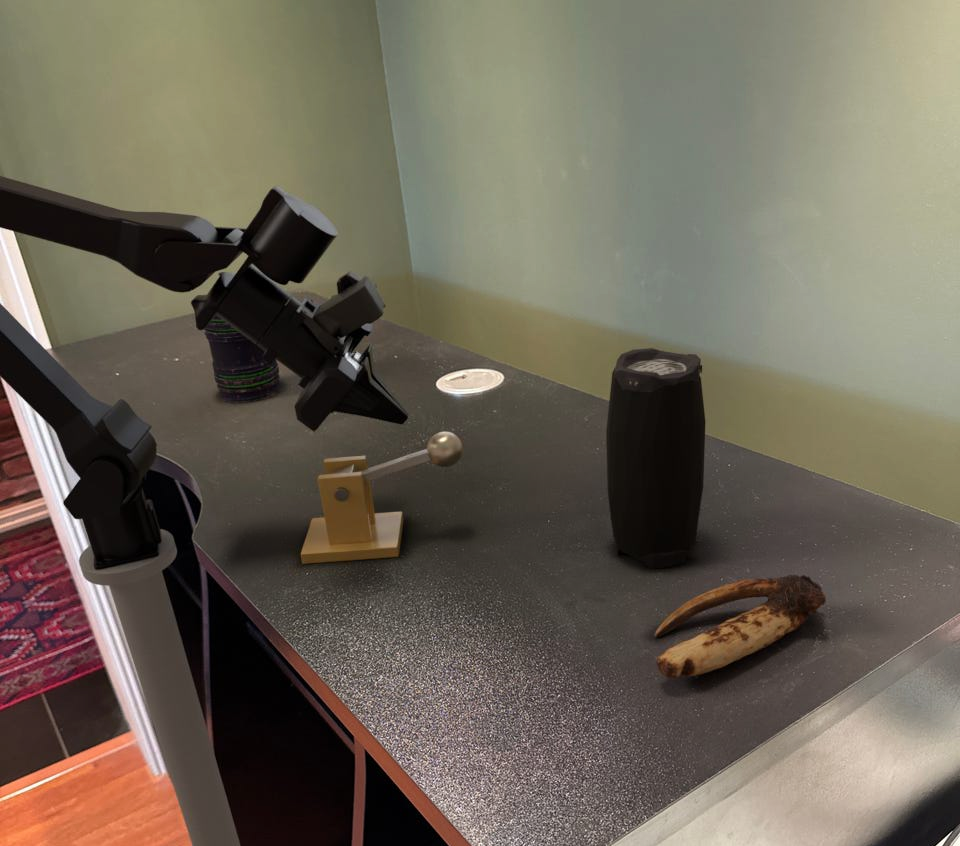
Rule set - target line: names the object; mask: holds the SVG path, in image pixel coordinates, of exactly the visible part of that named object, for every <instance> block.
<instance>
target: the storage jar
mask: <svg viewBox="0 0 960 846" xmlns="http://www.w3.org/2000/svg"><path fill="white" fill-rule="evenodd" d="M224 272H225V271H221V272H218V277H220V275H221V274H222V273H224ZM203 331H204V335H205V338H206V339H207V340H208V345H209V349H210V354H211V357H212V362H211V363H212V364H211V365H212V369H213V372H214V373H213V377H214V381H215V383H216V387H217V389H218V391H219V392H218V396H219V399H220V400H221V401H223V402H226V403H232V404H243V403H244V404H245V403H251V402H257V401H263V400H266V399H267V398H270V397H273V396H275V395H277V394H278V393H279V392H280V391H282V388H283V387H282V383H281V381H280V378H281V377H280V374H279V373H280V368H279V364H278V360H276V359H274V361H273V362H272V363H271V364H270V363H268V362H267V361H265V360H264V359H263V358H262V356H263V355H264V353H265V351H264V350H263V349H261V348H260V347H259V346H257V344H258V342H259V341H260V340H261V339H260V340H259V341H258V342H257V344H255V343H253V342H252V341H251V340H249V339H248V338H247V337H245V336H244V335H243V334H241V333H240V332H239V331H237V330H236V329H234V328H233V327H232V326H230V325H229V324H228V323H226V322H225V321H224V320H222V319H221V318H220V317H218V316H217V315H215V317H214V318H213V320H212V321H211V322H210V323H209V324H208V325H207V326H206V327H205V328H204V329H203ZM262 337H263V336H262ZM262 337H261V338H262Z"/></svg>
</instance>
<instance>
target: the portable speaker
mask: <svg viewBox="0 0 960 846" xmlns="http://www.w3.org/2000/svg"><path fill="white" fill-rule="evenodd" d="M701 360H702V359H701V357H699V356H698V355H697V354H696V353H687V354H684V353H677V352H670V351H665V350H659V349H656V348H654V347H649V348H647V347H646V348H637V349H636V348H635V349H631V350H628V351H626V352H624V353H621V354H620V356H619V357H618V358H617V359H616V363H615V366H614V368H613V371H612V372H611V374H612V375H611V380H610V381H611V382H610V391H609V400H608V411H607V420H606V428H605V429H606V430H605V432H606V433H605V435H606V439H605V440H606V441H605V442H606V477H607V478H606V480H607V483H606V484H607V498H608V505H609V513H610V521H611V529H612V537H613V539H614V549H615V552H616V554H617V555H619V554H623V553H624V554H626V555H629V556H631V557H633V558H635V559H637V560H639V561H641V562H642V563H643V564H645V566H647V567H648V568H649V569H652V570H653V569H664V568H670V567H674V566H676V565H679V564H682V563H684V562H685V560H686V558H687V556H688V554H689V552H690V551H691V550H692V548H693V546H694V545H695V544H696V539H697V534H698V533H697V532H698V526H699V518H700V514H701V510H702V509H701V505H702V498H703V491H704V481H705V480H704V478H705V475H704V474H705V472H704V471H705V452H706V451H705V447H706V446H705V445H706V416H705V415H706V413H705V403H704V395H703V394H704V393H703V385H702V377H701V376H700V375H701V374H702V373H703V364H701Z"/></svg>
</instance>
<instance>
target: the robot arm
mask: <svg viewBox="0 0 960 846" xmlns="http://www.w3.org/2000/svg"><path fill="white" fill-rule="evenodd" d="M0 229H3V230H7V231H11V232H14V233H19V234H21V235H25V236H29V237H33V238H37V239H40V240H44V241H47V242H51V243H54V244H59V245H63V246H66V247H69V248H73V249H76V250H80V251H84V252H87V253H91V254H95V255H98V256H102V257H105V258H108V259H110V260H111V261H114V262H116V263H118V264H120V265H121V266H122V267H124V268H125V269H126V270H128V271H129V272H130V273H132V274H134V275H135V276H137V277H139V278H141V279H143V280H145V281H148V282H150V283H152V284H154V285H157V286H159V287H161V288H164V289H166V290H167V291H170V292H174V293H182V294H183V293H189V292H191V291H194V290H196V289H197V288H199V287H201V286H202V285H203V284H204V283H205V282H207V280H208V279H210V278H211V277H212V276H213V275H214V274H216V272H219V271H222V270H225V269H227V268H229V266H230V265H232V263H233V262H234V261H236V260H237V259H238V258H239V257H240V256H241V255H242V254H243V253H244V254H245V255H246V256H247V257H246V259H245V260H244V262H243V263H242V265H241V266H240V267H239V268H238V270H237V271H236V273H232V272H227V271H223V272H224V273H222V274H221V275H220V276H218V278H217V279H216V280H215V282H214V284H213V285H212V286H211V287H210V289H209V291H208V292H207V294H198V295H196V296H195V297H194V298H193V299H191V301H190V304H191V307H192V309H193V312H194V320H195V327H196V329H197V330H198V331H204V328H205V327H206V326H207V325H208V324H209V323H210V322H211V321H212V320H213V318H214V317H215V315H217V316H218V317H220V318H221V319H222V320H224V321H225V322H226V323H228V324H229V325H230V326H232V327H233V328H234V329H236V330H237V331H239V332H240V333H241V334H243V335H244V336H245V337H247V338H248V339H249V340H251V341H252V342H253V343H255V344H257V342H258V341H259V340H260V339H261V340H260V341H259V342H258V344H257V346H259V347H260V348H261V349H263V350H264V351H265V353H264V355H263V356H262V358H263V359H264V360H265V361H267V362H268V363H270V364H271V363H272V362H273V361H274V359H276V361H277V362H279V363H280V364H282V365H283V366H284V367H286V368H287V369H288V370H289V371H291V372H292V373H294V374H295V375H297V376H298V377H299V378H300V380H299V382H298V384H297V386H300V387H301V388H302V391H300V393H299V395H298V398H297V399H296V402H295V404H294V412H295V415H296V420H297V421H298V422H299V423H301V424H302V425H304V426H306V427H307V428H308V429H309V430H311V431H312V432H316V431H317V430H318V429H319V428H320V426H321V425H323V423H324V421H325V420H326V419H327V417H328V416H329V415H330V414H333V413H334V412H335V413H340V414H345V415H346V414H347V415H353V416H360V417H365V418H369V419H374V420H379V421H381V422H382V421H383V422H386V423H393V424H395V425H396V424H397V425H404V424H405V423H406V421H407V420H408V419H409V412H408V411H407V410H406V408H405V407H404V406H403V405H402V404H401V402H400V401H399V400H398V399H397V397H396V396H395V395H394V393H393V392H392V390H391V389H390V388H389V387H388V386H387V385H386V383H385V382H384V381H383V379H382V378H381V376H380V375H379V374H378V372H377V371H376V369H375V365H374V356H373V346H372V344H369V345H368V346H367V348H365V349H364V351H363V352H362V354H361V353H360V352H359V351H357V350H355V349H356V348H357V347H358V346H359V345H360V343H361V342H362V340H363V339H364V337H368V336H369V335H370V334H371V333H372V330H373V327H374V324H373V323H374V322H376V321H378V320H379V319H380V318H381V317H382V316H383V315H384V314H385V313H384V309H385V308H386V306H387V305H386V303H385V301H384V300H383V297H381V295H380V293H379V292H378V290H377V284H376V282H374V281H371V279H370V277H369V276H367V275H365V276H363V277H361V276H359V275H358V274H356V273H355V272H353V271H352V270H351V271H349V272H347V273H345V274H343V275H341V276H340V277H339V278H338V279H337V281H336V289H337V294H333V295H332V296H331V297H330V298H329V299H328V300H326V301H324V302H323V303H321V304H319V303H317V302H316V301H314V300H313V299H312V298H310V297H309V298H307V297H304V298H303V299H302V301H300V300H298V299H297V298H295V296H292V294H291V293H289V292H288V291H287V290H285V288H282V287H281V286H286V285H288V284H289V282H292V283H294V284H303V283H304V281H305V279H306V278H307V277H308V276H309V274H310V273H311V272H312V271H313V269H314V268H315V266H316V265H317V264H318V262H319V261H320V259H322V257H323V256H324V254H325V253H326V252H327V250H328V249H329V247H330V246H331V245H332V243H333V242H334V241H335V240H336V238H337V236H338V234H339V233H338V230H337V228H336V227H335V226H334V224H333V223H332V222H331V221H330V219H328V218H327V217H326V216H325V215H324V214H323V213H322V212H321V211H320V210H319V209H318V208H316V207H315V206H314V205H313V204H311V203H309V204H308V203H306V202H305V201H304V200H302V199H300V198H299V197H296V196H295V195H292V194H289V193H287V192H286V191H284V190H283V189H282V188H281V187H280V186H278V185H275V186H273V187H272V188H270V190H269V191H268V193H266V195H265V197H264V199H263V200H262V203H261V206H260V208H259V210H258V211H257V213H256V214H255V215H254V217H253V218H252V220H251V221H250V222H249V224H248V225H247V227H245V228H244V227H228V226H227V227H225V226H215V225H214V224H213V223H212V222H210V221H209V220H208V219H206V218H203V217H201V216H198V215H192V214H184V213H175V212H166V211H132V210H123V209H118V208H116V207H112V206H108V205H104V204H101V203H98V202H94V201H90V200H87V199H83V198H80V197H76V196H72V195H69V194H66V193H63V192H59V191H54V190H52V189H48V188H45V187H41V186H37V185H34V184H30V183H27V182H23V181H20V180H16V179H13V178H9V177H6V176H3V175H0ZM280 285H281V286H280ZM262 336H263V337H262ZM261 337H262V338H261ZM354 350H355V351H354ZM353 352H354V353H353ZM0 378H1V379H2V380H3V381H4V382H5V383H6V384H7V385H8V386H9V387H10V388H11V390H13V391H14V392H15V393H16V394H17V395H18V396H19V397H20V398H21V399H22V400H23V401H24V402H26V403H27V405H29V407H30V408H32V410H33V411H34V412H36V414H38V416H39V417H41V418H42V420H44V421H45V423H47V424H48V425H49V427H51V428H52V429H53V431H54V433H55V434H56V437H57V439H58V441H59V442H58V443H59V445H60V447H61V450H62V453H63V455H64V458H65V459H66V462H67V463H68V465H69V466H70V467H71V469H72V470H73V472H74V473H75V474H76V475H77V477H78V478H79V479H78V480H77V482H76V484H75V485H74V486H73V488H72V489H71V491H70V492H69V493H68V494H67V496H66V497H65V498H64V500H63V502H62V505H63V506H64V507H65V508H66V510H67V511H68V513H70V516H72V517H73V519H74V520H81V521H82V523H83V527H84V530H85V532H86V536H87V539H88V542H89V546H90V545H91V548H92V551H93V554H94V564H93V565H94V568H95V570H100V569H105V568H109V567H114V566H118V565H122V564H127V563H131V562H135V561H140V560H144V559H149V558H153V557H157V556H158V555H159V545H158V544H160V543H161V542H162V538H161V530H160V529H161V526H160V524H159V520H158V517H157V513H156V510H155V506H154V503H153V500H152V499H147V498H146V494H145V492H144V489H143V486H141V485H142V484H143V483H144V482H145V481H146V480H147V473H148V472H149V470H150V469H151V467H153V465H154V463H155V461H156V458H157V447H158V443H157V442H156V439H155V438H154V436H153V434H152V433H151V432H150V430H151V429H152V425H151V424H149V423H147V422H145V421H144V420H143V419H141V418H140V417H139V416H138V415H137V414H136V412H135V411H134V410H133V408H132V407H131V405H130V404H129V403H128V402H127V401H126V400H125V399H122V398H120V399H119V400H118V401H117V402H115V404H114V405H110V404H108V403H106V402H104V401H101V400H98V399H97V398H95V397H94V396H92V395H90V393H89V392H88V391H87V390H86V389H85V388H84V387H83V386H82V385H81V384H79V382H78V381H77V380H76V379H75V378H74V377H73V376H72V375H71V373H69V372H68V371H67V370H66V369H65V368H64V367H63V366H62V365H61V364H60V362H58V361H57V360H56V359H55V358H54V357H53V356H52V354H51V353H50V352H49V351H48V350H47V349H45V347H44V346H43V345H42V344H41V343H40V342H39V341H38V340H37V339H36V338H35V337H34V336H33V335H32V334H31V333H30V332H29V331H28V330H27V329H26V328H25V326H23V325H22V324H21V322H19V320H17V319H16V318H15V316H14V315H13V314H12V313H10V311H8V309H7V308H6V307H5V306H4V305H3V304H2V303H1V302H0Z"/></svg>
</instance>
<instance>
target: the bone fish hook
mask: <svg viewBox="0 0 960 846" xmlns="http://www.w3.org/2000/svg"><path fill="white" fill-rule="evenodd" d="M751 598H767V600H766V601H765V602H763V603H761V604H759V605H758V606H757V607H754V608H752V609H751V610H748V611H745V612H743V613H740V614H739V615H737V616H735V617H732V618H729V619H727V620H725V621H723V622H722V623H721V624H718V625H717V626H715V627H713V628H711V629H709V630H707V631H705V632H703V633H700V634H698V635H696V636H694V637H693V638H690V639H689V640H685V641H681V642H679V643H678V644H676V645H673V646H672V647H670V648H668V649H666V650H665V651H664V652H663V653H661V654H660V655H658V656H657V658H656V666H657V669H658V672H660V673H661V674H662V675H663V676H664V677H666V678H669V679H676V678H679V677H680V676H681V675H682V676H685V677H686V678H689V677H694V676H695V677H696V676H699V675H703V674H706V673H710V672H713V671H715V670H718V669H721V668H724V667H726V666H727V665H728V666H729V664H731V663H733V662H735V661H739V660H741V659H743V658H744V657H747V656H748V655H751V654H754V653H755V652H757V651H759V650H762V649H763V648H767V647H769V646H770V645H771V644H773V643H775V642H776V641H777V640H780V639H781V638H783V637H784V636H785V635H787V634H789V633H792V632H794V631H795V630H797V629H798V628H799V627H800V626H801V625H802V624H804V623H805V622H806V620H807V618H809V617H812V616H813V615H814V614H816V613H817V611H818V609H820V608H821V606H823V605H825V604H826V602H827V601H826V600H827V599H826V595H825V593H824V592H823V590H822V587H821V585H819V584H818V583H817V582H815V581H813V580H812V578H811V577H810V576H806V575H805V574H803V575H800V576H799V575H797V574H788V575H785V576H781V577H776V578H775V577H767V578H752V579H751V578H750V579H745V580H738V581H736V582H731V583H728V584H724V585H722V586H720V587H716V588H713V589H711V590H708V591H706V592H704V593H702V594H699V595H698V596H696V597H694V598H692V599H690V600H688V601H687V602H685V603H684V604H682V605H681V606H679V607H678V608H677V609H676V610H674V611H673V612H672V613H671V614H669V615H668V616H667V617H666V619H665V620H664V621H663V622H662V623H661V624H660V626H659V627H658V628H657V629H656V631H655V632H654V638H660V637H662V636H663V635H666V634H667V633H669V632H671V631H672V630H674V629H676V628H677V627H679V626H680V625H682V624H683V623H685V622H686V621H687V620H689V619H691V618H693V617H694V616H696V615H698V614H700V613H702V612H705V611H707V610H710V609H713V608H716V607H720V606H722V605H725V604H729V603H733V602H735V601H740V600H745V599H751Z"/></svg>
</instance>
